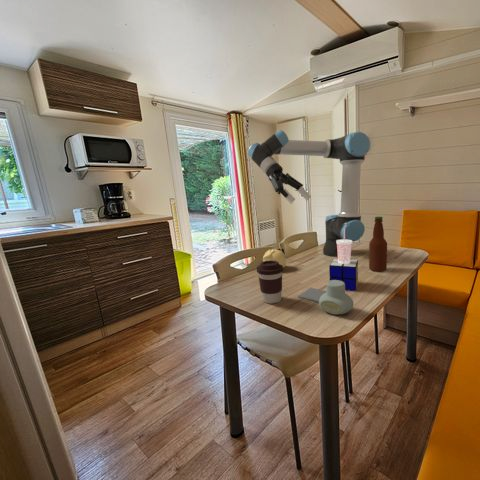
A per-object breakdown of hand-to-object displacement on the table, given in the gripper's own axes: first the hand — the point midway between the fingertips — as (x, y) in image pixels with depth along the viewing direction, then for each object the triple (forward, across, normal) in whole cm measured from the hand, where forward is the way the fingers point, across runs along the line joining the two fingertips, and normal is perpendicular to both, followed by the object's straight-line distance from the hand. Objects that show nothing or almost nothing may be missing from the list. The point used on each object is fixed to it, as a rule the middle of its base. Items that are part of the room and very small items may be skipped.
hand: (301, 199), depth 117 cm
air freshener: (+44, +24, -7) cm, 51 cm away
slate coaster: (+36, +17, -15) cm, 42 cm away
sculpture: (+12, -2, -38) cm, 40 cm away
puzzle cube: (+39, +2, -12) cm, 41 cm away
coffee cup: (+27, +29, -24) cm, 46 cm away
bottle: (+43, -24, -8) cm, 50 cm away
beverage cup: (+32, +2, -4) cm, 33 cm away
